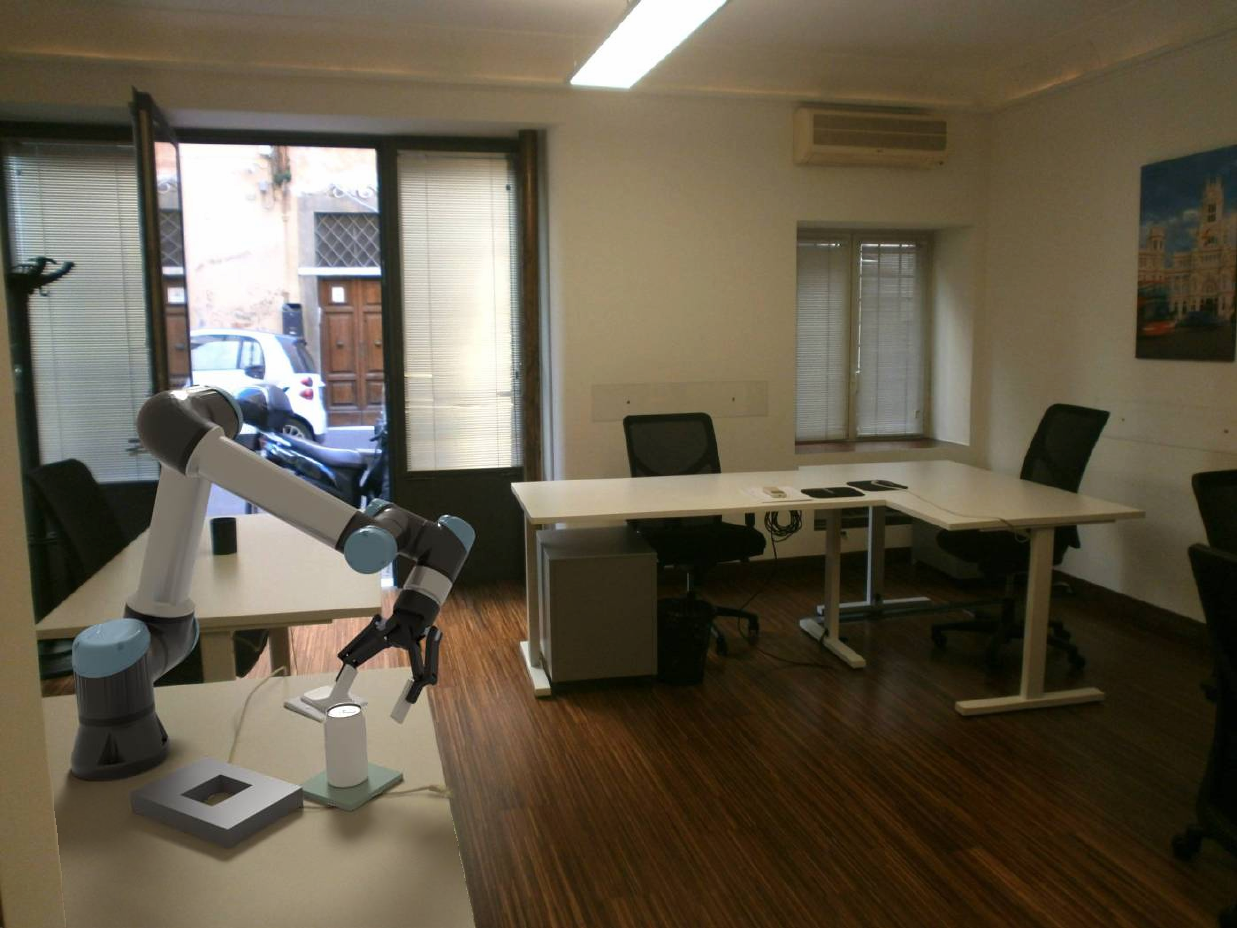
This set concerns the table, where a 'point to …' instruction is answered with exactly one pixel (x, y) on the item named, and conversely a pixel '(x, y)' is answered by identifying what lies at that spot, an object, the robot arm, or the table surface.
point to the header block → (228, 820)
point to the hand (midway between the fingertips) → (363, 711)
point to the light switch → (319, 702)
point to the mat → (351, 796)
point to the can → (345, 745)
